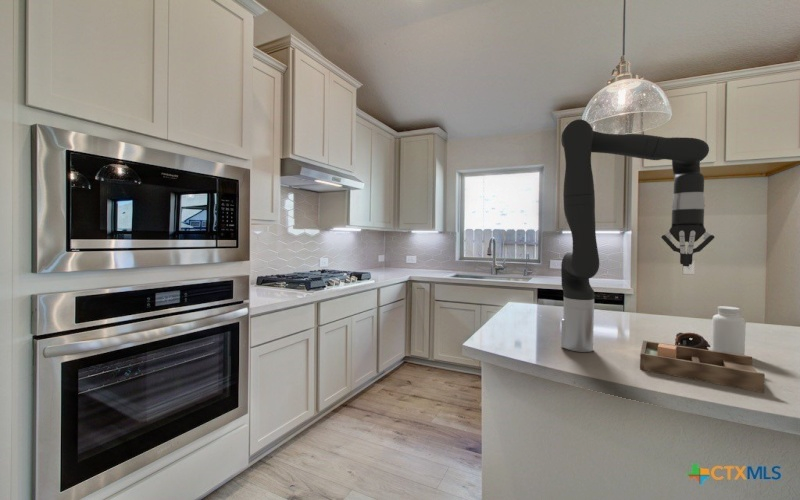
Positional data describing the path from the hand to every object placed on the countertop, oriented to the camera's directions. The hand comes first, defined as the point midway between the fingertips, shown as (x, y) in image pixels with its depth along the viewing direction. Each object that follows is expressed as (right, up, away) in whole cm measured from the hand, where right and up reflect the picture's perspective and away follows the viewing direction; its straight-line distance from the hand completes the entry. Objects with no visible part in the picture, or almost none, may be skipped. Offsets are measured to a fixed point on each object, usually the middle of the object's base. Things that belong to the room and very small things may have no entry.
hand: (685, 266), depth 107 cm
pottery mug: (+7, -29, +7) cm, 31 cm away
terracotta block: (-10, -27, -5) cm, 29 cm away
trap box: (-2, -29, -7) cm, 30 cm away
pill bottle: (+20, -29, +8) cm, 36 cm away
